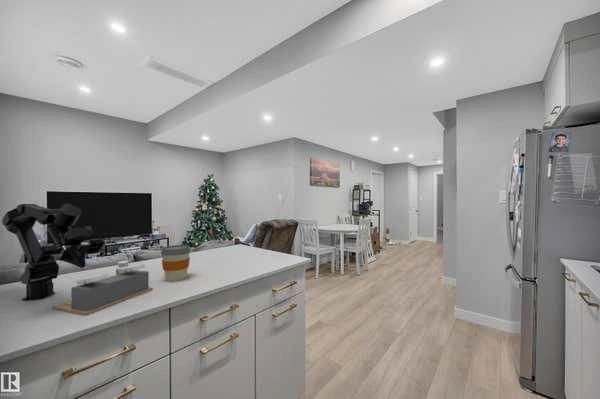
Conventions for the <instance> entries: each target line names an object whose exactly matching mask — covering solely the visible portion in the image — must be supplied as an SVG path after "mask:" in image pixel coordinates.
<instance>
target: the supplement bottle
mask: <svg viewBox="0 0 600 399" xmlns="http://www.w3.org/2000/svg"><path fill="white" fill-rule="evenodd" d="M128 267H131V266H130V263H129V260H121V261H118V262H117V267H116V268H115V275H119V274H122V273H119V272H118V270H120V269H124V268H128ZM124 273H125V272H124Z"/></svg>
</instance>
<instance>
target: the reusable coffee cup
mask: <svg viewBox="0 0 600 399" xmlns="http://www.w3.org/2000/svg"><path fill="white" fill-rule="evenodd" d="M190 253H191V247H190V245H187V244H179V245H177V244H176V245H175V244H174V245H169V246H164V247H162V248H161V257H162V260H161V262H162V263H161V264H162V265H161V266H162V270H163V271H164V277H165V278H164V279H165V281H166V282H179V281H182V279H183V280H185V279H187V275H188V268H189V267H190V266H189V265H190V259H191V257H190ZM184 278H185V279H184ZM178 280H179V281H178Z"/></svg>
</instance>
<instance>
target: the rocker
mask: <svg viewBox="0 0 600 399" xmlns="http://www.w3.org/2000/svg"><path fill="white" fill-rule="evenodd" d="M144 268H146V265H145V263H143V264H138V265H133V266H130V267H128V268H124V269H120V270H118V272H119V273H124V272H125V273H128V272H131V271H135V270H138V271H139V270H141V269H144Z"/></svg>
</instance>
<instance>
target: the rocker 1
mask: <svg viewBox="0 0 600 399" xmlns="http://www.w3.org/2000/svg"><path fill="white" fill-rule="evenodd" d="M109 277H110V276H109V273H105V274H100V275H94V276H90V277H86V278H82V279H79V280H76V286H79V285H82V284H88V283H92V282H95V281H99V280H102V279H106V278H109Z"/></svg>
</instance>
